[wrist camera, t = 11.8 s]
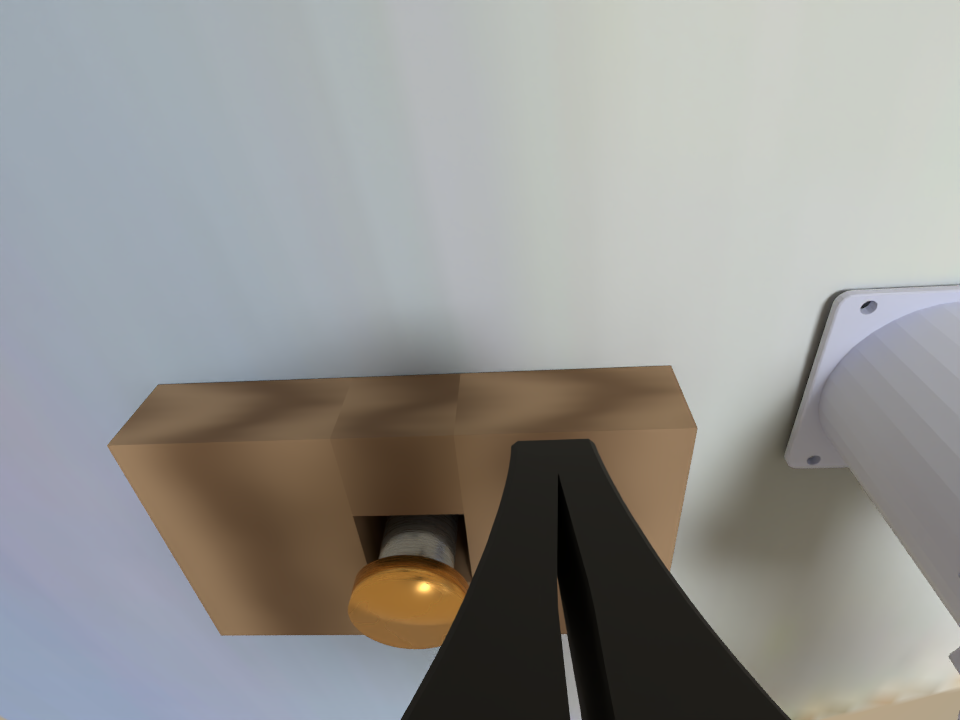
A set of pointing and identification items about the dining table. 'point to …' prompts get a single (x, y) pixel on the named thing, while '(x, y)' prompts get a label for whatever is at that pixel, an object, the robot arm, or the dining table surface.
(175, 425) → the hitch block
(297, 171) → the dining table surface
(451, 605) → the pin
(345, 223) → the dining table surface
